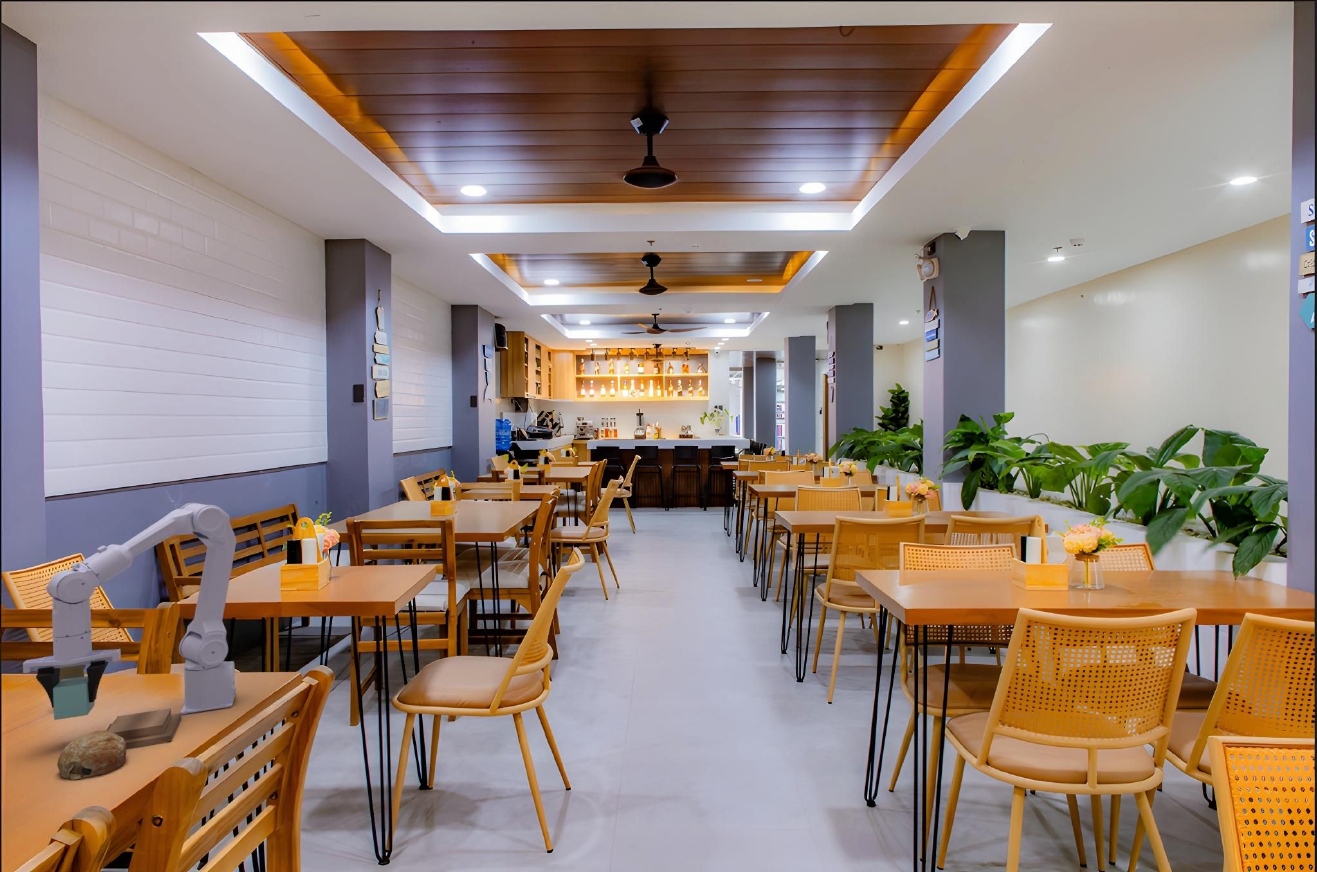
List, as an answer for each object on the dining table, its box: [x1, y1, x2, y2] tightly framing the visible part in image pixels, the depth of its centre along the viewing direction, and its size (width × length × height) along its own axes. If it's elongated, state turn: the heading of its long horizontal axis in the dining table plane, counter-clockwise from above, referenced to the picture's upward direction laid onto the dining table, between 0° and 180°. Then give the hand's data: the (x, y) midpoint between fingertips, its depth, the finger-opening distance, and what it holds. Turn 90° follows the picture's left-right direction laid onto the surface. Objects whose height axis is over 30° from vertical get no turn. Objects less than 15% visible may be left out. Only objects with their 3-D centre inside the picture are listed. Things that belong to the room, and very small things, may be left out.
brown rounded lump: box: [57, 730, 127, 781], centre depth 130 cm, size 10×10×8 cm
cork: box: [59, 664, 87, 682], centre depth 157 cm, size 6×6×11 cm
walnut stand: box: [105, 707, 182, 750], centre depth 142 cm, size 12×12×3 cm
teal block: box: [53, 675, 95, 721], centre depth 139 cm, size 5×5×6 cm
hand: (74, 703), depth 139 cm, fingers closed on teal block, 5 cm apart
